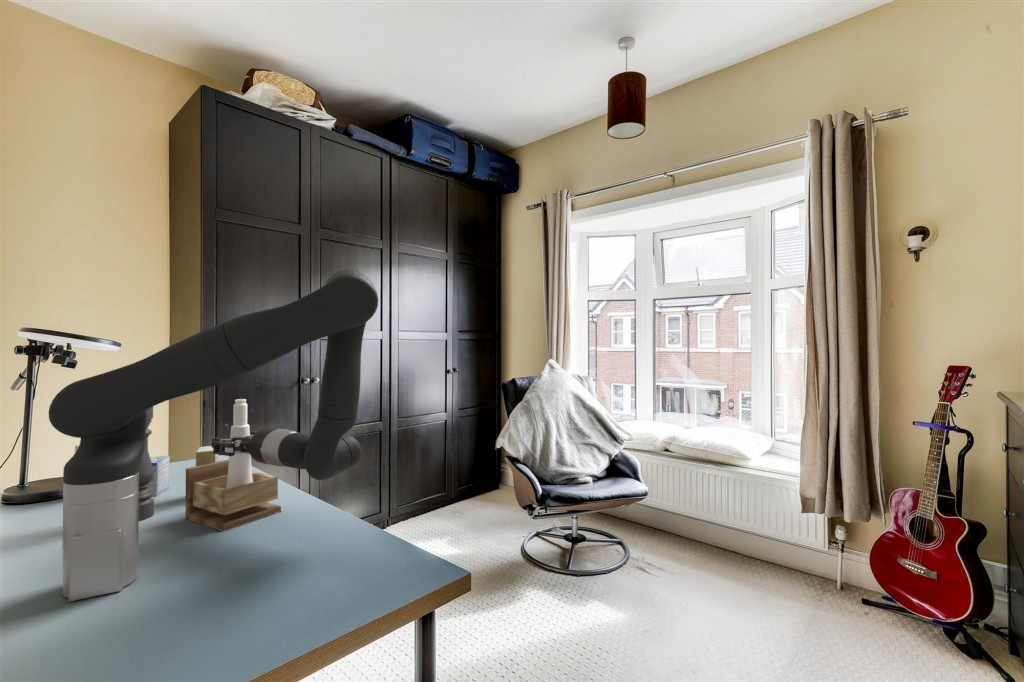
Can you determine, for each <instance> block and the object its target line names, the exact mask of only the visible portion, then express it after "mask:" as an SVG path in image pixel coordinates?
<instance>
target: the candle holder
mask: <svg viewBox="0 0 1024 682" xmlns="http://www.w3.org/2000/svg"><path fill="white" fill-rule="evenodd" d="M153 418H154V406H153V407H151V408H149V409H147V420H146V437H145V448H144V452H143V455H142V457H141V460H140V463H139V522H141V521H144V520H148V519H150V518H152V517H153V516H154V515H155V500H154V497H151V496H152V495H153V493H152V492H151V491H150V490H149V489H148V486H149V482H150V481H151V480H152V478H153V476H154V470H153V466H152V463H151V459H150V457H151V456H150V452H149V446H148V445H149V437H150V436H151V435H152V433H153V431H152V430H151V429H149V427H150V425H151V423H152V419H153ZM147 518H148V519H147Z"/></svg>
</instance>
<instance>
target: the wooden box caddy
mask: <svg viewBox="0 0 1024 682" xmlns="http://www.w3.org/2000/svg"><path fill="white" fill-rule="evenodd" d="M228 467H229V459H225V460H219V462H215V463H210V464H205V465H200V466H196V465H195V466H191V467H187V468H185V519H186V520H190V521H193V522H194V523H198V524H201V525H204V526H207V525H208V526H207V527H210V526H211V528H213V527H215V528H214V529H216V528H218V529H217V530H219V529H221V530H220V531H222V530H223V532H225V531H228V530H231V529H234V528H237V527H240V526H243V525H245V524H248V523H251V522H254V521H257V520H260V519H264V518H266V517H270V516H272V515H274V513H275V514H277V513H276V512H278V513H280V512H279V511H281V512H282V506H281V505H277V504H275V503H274V504H273V503H270V502H271V501H275V500H278V499H279V498H278V493H279V492H278V491H279V480H278V479H279V478H278V476H274V475H270V474H266V473H261V472H256V471H252V479H253V482H252V483H248V484H245V485H241V486H237V487H233V488H230V489H226V485H227V478H228ZM236 526H237V527H236ZM233 527H234V528H233ZM230 528H231V529H230ZM227 529H228V530H227ZM224 530H225V531H224Z"/></svg>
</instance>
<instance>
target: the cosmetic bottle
mask: <svg viewBox="0 0 1024 682" xmlns="http://www.w3.org/2000/svg"><path fill="white" fill-rule="evenodd" d="M232 410H233V413H232V417H233V420H232V421H233V425H231V427H230V434H229V435H230V438H229V439H232V438H234V437H241V436H248V435H250V433H251V429H250V428H251V427H250V424H248V403H247V399H246V398H238V399H235V400H234V404H233V409H232ZM240 442H241V440H238V441H237V446H238V445H239V444H240ZM230 443H231V442H230ZM228 460H229V467H228V478H227V485H226V489H230V488H233V487H237V486H241V485H245V484H248V483H252V482H253V479H252V472H253V471H252V470H253V469H252V456H251V455H250V454H245V453H241V454H235V455H234V456H228Z"/></svg>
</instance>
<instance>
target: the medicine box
mask: <svg viewBox="0 0 1024 682" xmlns="http://www.w3.org/2000/svg"><path fill="white" fill-rule="evenodd" d="M150 459H151V463H152V466H153V470H154V476H153V478H152V480H151V481H150V482H149V486H148V489H149V490H150V491H151V492H152V493H153V495H152V496H154V497H158V496H159V495H160V494H161V493H163V492H164V491H165V490H167V489H168V488H169V487H170V464H171V463H170V461H171V460H170V459H171V458H170V455H154V456H153V455H152V456H150Z"/></svg>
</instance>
